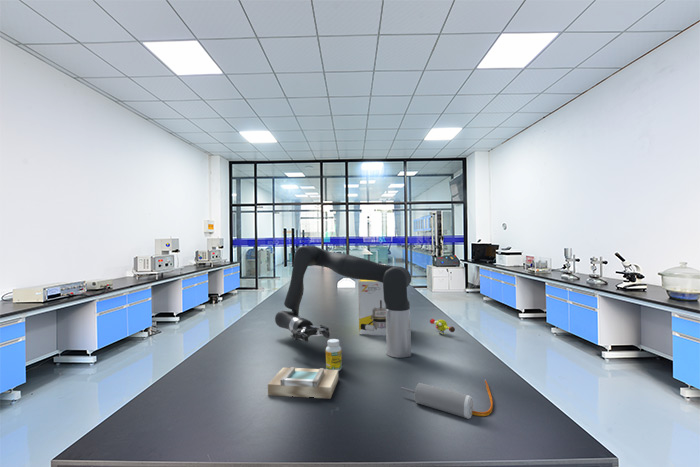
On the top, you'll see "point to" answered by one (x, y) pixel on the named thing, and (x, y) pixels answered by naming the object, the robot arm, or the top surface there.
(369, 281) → the packaging box
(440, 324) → the toy figure
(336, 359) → the supplement bottle
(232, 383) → the top surface
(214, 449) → the top surface
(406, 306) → the robot arm
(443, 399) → the motor
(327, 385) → the dock
